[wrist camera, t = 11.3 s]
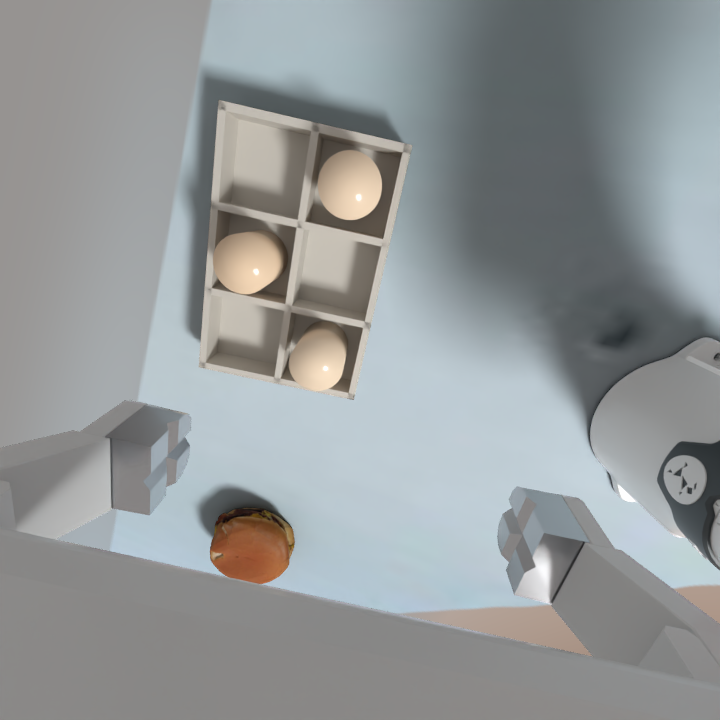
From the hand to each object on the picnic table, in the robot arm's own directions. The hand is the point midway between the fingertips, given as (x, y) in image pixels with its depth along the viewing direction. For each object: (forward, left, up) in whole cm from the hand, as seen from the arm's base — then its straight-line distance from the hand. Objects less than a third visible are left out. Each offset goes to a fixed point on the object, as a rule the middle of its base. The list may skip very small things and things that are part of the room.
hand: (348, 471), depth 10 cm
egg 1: (+10, 0, -29) cm, 31 cm away
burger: (+7, +33, -30) cm, 45 cm away
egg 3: (+3, -7, -29) cm, 30 cm away
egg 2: (+3, +7, -29) cm, 30 cm away
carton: (+7, 0, -29) cm, 30 cm away
